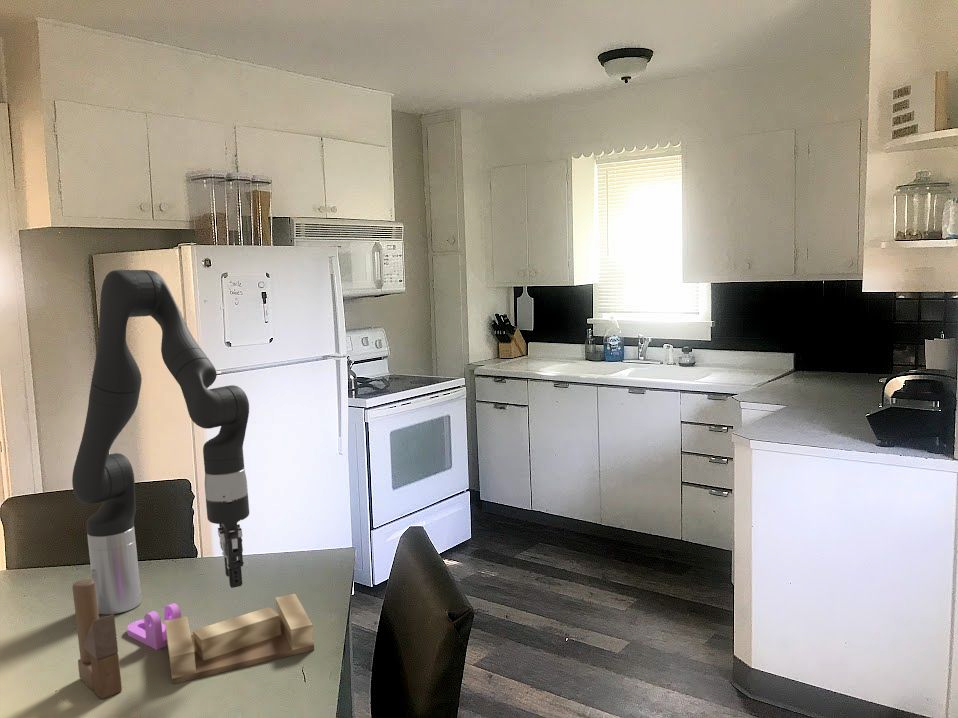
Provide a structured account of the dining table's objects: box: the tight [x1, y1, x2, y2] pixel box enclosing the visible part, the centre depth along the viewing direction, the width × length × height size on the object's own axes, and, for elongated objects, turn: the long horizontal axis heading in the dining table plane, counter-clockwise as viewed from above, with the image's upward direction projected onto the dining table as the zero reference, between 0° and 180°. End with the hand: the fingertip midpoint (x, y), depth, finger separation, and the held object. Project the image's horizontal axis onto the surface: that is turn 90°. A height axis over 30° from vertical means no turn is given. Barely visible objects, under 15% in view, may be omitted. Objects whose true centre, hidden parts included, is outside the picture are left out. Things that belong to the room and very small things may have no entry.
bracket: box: [126, 602, 182, 651], centre depth 158 cm, size 13×6×7 cm, turn 52°
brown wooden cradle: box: [164, 593, 315, 685], centre depth 151 cm, size 25×16×5 cm, turn 114°
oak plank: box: [192, 606, 281, 661], centre depth 151 cm, size 15×5×4 cm, turn 127°
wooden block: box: [72, 578, 123, 700], centre depth 139 cm, size 4×11×18 cm, turn 45°
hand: (234, 580), depth 150 cm, fingers open, 5 cm apart
